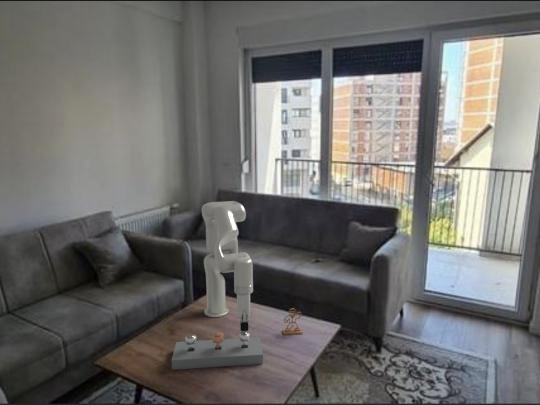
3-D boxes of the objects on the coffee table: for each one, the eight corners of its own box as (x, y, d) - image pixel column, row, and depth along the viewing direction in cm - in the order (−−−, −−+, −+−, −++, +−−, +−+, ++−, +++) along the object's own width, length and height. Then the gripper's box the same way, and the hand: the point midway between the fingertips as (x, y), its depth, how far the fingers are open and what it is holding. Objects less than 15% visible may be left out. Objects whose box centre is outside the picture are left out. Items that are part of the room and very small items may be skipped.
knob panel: (176, 350, 169) (176, 342, 168) (260, 345, 172) (260, 337, 172) (172, 369, 155) (171, 360, 154) (262, 363, 159) (262, 354, 158)
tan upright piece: (283, 335, 181) (283, 310, 179) (282, 331, 185) (282, 307, 183) (302, 334, 182) (302, 309, 180) (301, 330, 186) (301, 306, 184)
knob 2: (239, 343, 166) (238, 330, 165) (249, 343, 166) (249, 329, 165) (239, 349, 162) (239, 335, 161) (250, 348, 162) (250, 335, 161)
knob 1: (186, 346, 164) (185, 333, 163) (197, 346, 164) (196, 332, 163) (185, 352, 159) (184, 338, 158) (196, 351, 160) (195, 338, 159)
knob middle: (212, 345, 165) (212, 331, 164) (223, 344, 165) (223, 331, 164) (212, 350, 160) (212, 337, 160) (223, 350, 161) (223, 336, 160)
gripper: (234, 281, 167) (235, 322, 170) (234, 295, 152) (235, 339, 155) (251, 281, 168) (252, 321, 170) (254, 294, 153) (254, 338, 156)
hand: (244, 330), depth 163 cm, fingers closed
